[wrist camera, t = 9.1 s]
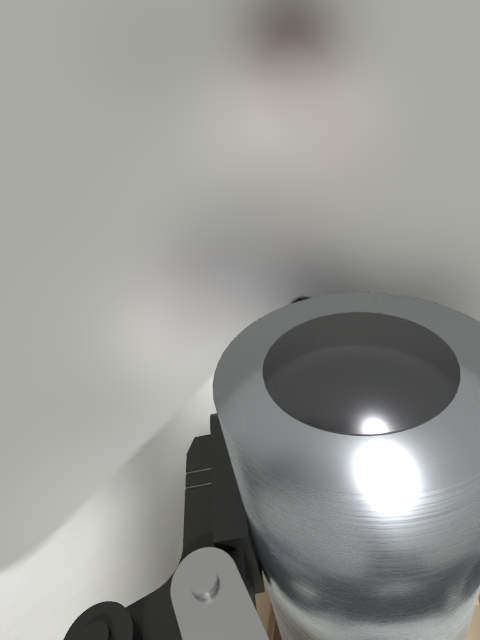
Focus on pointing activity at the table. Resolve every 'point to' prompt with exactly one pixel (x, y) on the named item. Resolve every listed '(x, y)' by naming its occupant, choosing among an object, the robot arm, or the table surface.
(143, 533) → the table surface
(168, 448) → the table surface
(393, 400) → the steel tube
